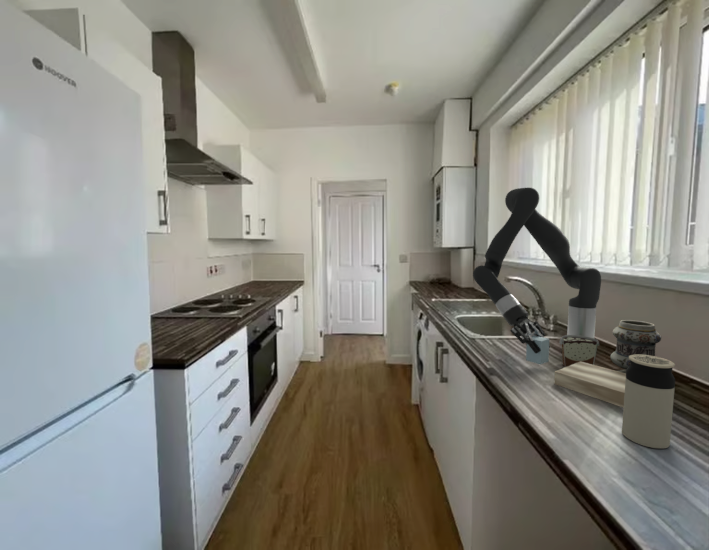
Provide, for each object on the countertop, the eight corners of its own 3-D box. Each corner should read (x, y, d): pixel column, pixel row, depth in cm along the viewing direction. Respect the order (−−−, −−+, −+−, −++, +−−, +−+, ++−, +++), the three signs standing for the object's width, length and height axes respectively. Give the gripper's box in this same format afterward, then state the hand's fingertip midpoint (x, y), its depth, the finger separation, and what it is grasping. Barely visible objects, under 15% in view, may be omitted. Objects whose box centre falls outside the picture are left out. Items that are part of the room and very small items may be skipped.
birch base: (579, 373, 111) (580, 361, 111) (648, 393, 96) (650, 379, 96) (554, 384, 103) (554, 371, 102) (625, 408, 87) (626, 393, 87)
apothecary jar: (650, 373, 110) (654, 320, 108) (665, 388, 99) (670, 328, 97) (605, 368, 115) (608, 316, 113) (615, 381, 104) (618, 324, 102)
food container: (587, 361, 121) (589, 334, 120) (597, 368, 115) (599, 339, 114) (551, 360, 123) (553, 334, 122) (560, 367, 117) (561, 339, 116)
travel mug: (674, 454, 68) (681, 369, 67) (624, 442, 73) (630, 362, 71) (664, 435, 75) (670, 357, 73) (619, 425, 79) (624, 351, 78)
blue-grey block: (534, 357, 119) (535, 335, 118) (548, 361, 114) (549, 338, 114) (525, 360, 116) (526, 337, 115) (540, 364, 112) (541, 341, 111)
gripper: (506, 306, 116) (539, 348, 107) (530, 301, 123) (562, 341, 114) (492, 318, 121) (523, 360, 112) (516, 313, 128) (546, 352, 119)
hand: (543, 350), depth 113 cm, fingers closed on blue-grey block, 5 cm apart
